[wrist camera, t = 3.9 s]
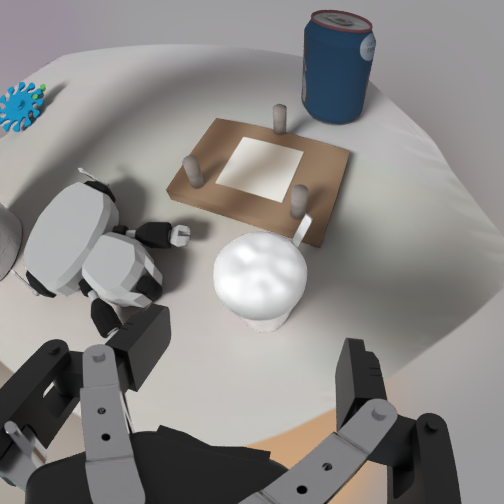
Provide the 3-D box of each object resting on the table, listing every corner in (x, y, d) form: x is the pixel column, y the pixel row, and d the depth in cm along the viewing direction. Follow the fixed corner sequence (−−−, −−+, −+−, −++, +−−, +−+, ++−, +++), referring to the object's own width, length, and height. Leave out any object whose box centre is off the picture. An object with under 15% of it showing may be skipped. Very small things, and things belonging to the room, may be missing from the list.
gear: (5, 141, 34) (-13, 102, 30) (12, 149, 39) (-6, 113, 35) (56, 104, 38) (36, 67, 34) (57, 116, 43) (38, 81, 39)
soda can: (371, 119, 30) (393, 30, 19) (326, 136, 29) (339, 35, 18) (334, 88, 32) (343, 6, 22) (289, 102, 31) (289, 11, 21)
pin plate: (170, 199, 27) (155, 168, 22) (220, 124, 30) (214, 92, 26) (319, 247, 24) (328, 219, 19) (348, 157, 27) (356, 124, 23)
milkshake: (316, 307, 22) (346, 250, 12) (260, 354, 20) (250, 333, 11) (276, 264, 23) (276, 186, 14) (221, 308, 22) (185, 253, 13)
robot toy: (205, 241, 26) (91, 186, 28) (197, 215, 21) (73, 161, 24) (134, 366, 21) (30, 281, 24) (110, 363, 17) (3, 266, 20)
